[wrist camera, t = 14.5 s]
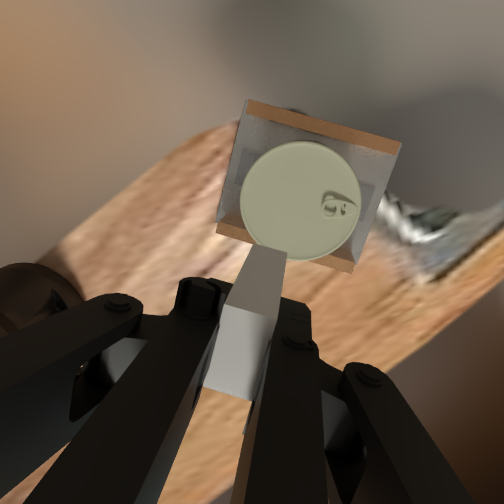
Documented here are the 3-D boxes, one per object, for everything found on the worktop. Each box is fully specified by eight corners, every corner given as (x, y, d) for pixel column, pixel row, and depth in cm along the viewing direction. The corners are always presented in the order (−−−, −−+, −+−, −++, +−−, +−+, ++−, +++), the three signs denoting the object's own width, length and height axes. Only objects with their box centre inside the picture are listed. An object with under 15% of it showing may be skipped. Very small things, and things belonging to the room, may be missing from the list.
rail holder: (217, 220, 44) (205, 230, 39) (247, 100, 40) (238, 95, 35) (355, 262, 43) (361, 277, 38) (399, 143, 39) (412, 144, 34)
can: (341, 234, 41) (353, 270, 30) (254, 225, 42) (234, 257, 31) (354, 143, 39) (372, 144, 27) (261, 136, 40) (241, 135, 28)
